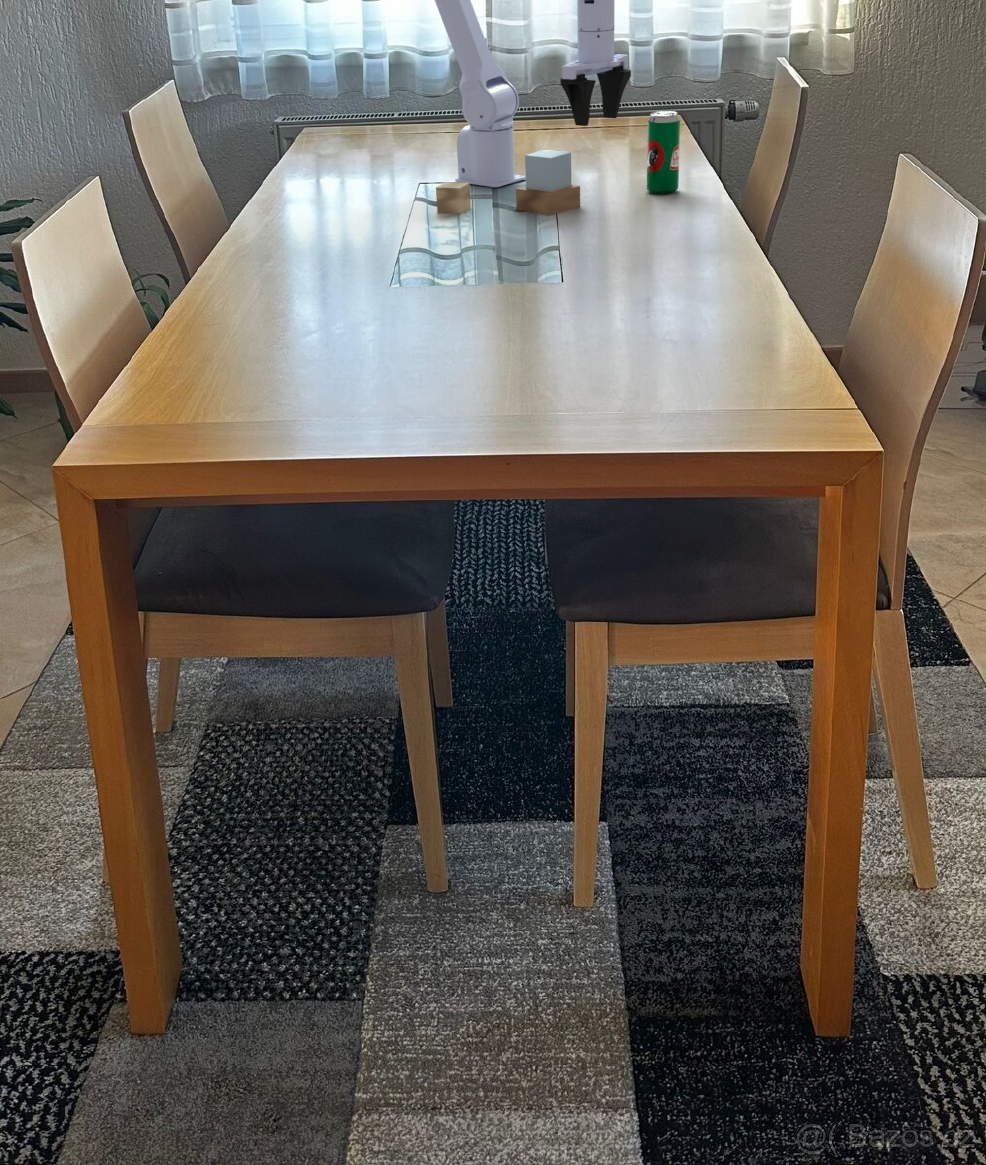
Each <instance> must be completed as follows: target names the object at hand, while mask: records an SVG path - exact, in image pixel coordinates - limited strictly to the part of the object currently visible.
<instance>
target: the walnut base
mask: <svg viewBox="0 0 986 1165" xmlns="http://www.w3.org/2000/svg"><path fill="white" fill-rule="evenodd" d="M515 197H516V198H515V199H516V200H515V201H516V202H515V205H516V210H517V209H518V211H522V210H523V212H528V213H534V214H539V215H543V216H548V217H549V216H553V215H556V214H560V212H561V213H564V212H567V210H568V211H571V209H572V210H574V208H575V209H578V207H579V208H581V185H577V184H572V186H569V187H566V188H563V189H560V190H557V191H554V192H547V191H540V190H532V189H526V185H525V186H519V187H516V188H515ZM563 211H564V212H563Z"/></svg>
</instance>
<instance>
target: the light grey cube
mask: <svg viewBox="0 0 986 1165" xmlns="http://www.w3.org/2000/svg"><path fill="white" fill-rule="evenodd" d="M524 163H525V164H524V166H525V167H524V168H525V176H526V179H525V186H526V189H532V190H540V191H547V192H554V191H557V190H560V189H563V188H566V187H569V186H572V185H573V184H572V183H573V182H572V152H571V151H563V150H553V149H543V150H538V151H535V152H532V153H527V154H524Z"/></svg>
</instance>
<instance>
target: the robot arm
mask: <svg viewBox="0 0 986 1165" xmlns="http://www.w3.org/2000/svg"><path fill="white" fill-rule="evenodd" d="M434 2H435V5H436V8H437V11H438V12H439V15H440V18H441V21H442V23H443V26H444V28H445V31H446V34H447V37H448V39H449V42H450V44H451V47H452V50H453V52H454V55H455V58H456V60H457V63H458V65H459V68H460V71H461V78H460V81H459V87H458V89H459V92H460V96H461V101H462V102H461V103H462V104H461V108H462V109H461V111H462V114H463V117H464V119H465V121H466V122H467V123H468V125H465V126H464V127H463V128H461V130H460V131H459V133H458V135H457V139H456V155H457V156H456V157H457V158H456V159H457V172H458V176H457V178H455V182H461V183H470V185H475V186H481V187H482V186H484V187H490V188H499V187H503V186H506V185H509V184H510V185H511V184H514V183H517V182H520V181H524V180H526V175H519V174H516V170H515V169H516V168H515V165H516V164H515V139H514V120H513V117H514V116H515V114H516V113H517V111H518V109H519V105H520V96H519V94H518V91H517V89H516V88H515V86H514V85H513V84H512V83H511V82H510V81H509V80H508V78H507V76H506V74H505V71H504V70H503V69H502V67H501V66H499V64H497V63H496V62H495V60H493V57H492V54H491V52H490V48H489V46H488V44H487V41H486V39H485V36H484V32H483V30H482V28H481V25H480V22H479V19H478V17H477V15H476V14H477V13H476V12H475V9H474V6H473V3H472V0H434ZM576 4H577V7H576V8H577V9H576V10H577V15H576V16H577V59H576V60H574V61H573V62H570V63H567V64H565V65H562V77H560V79H559V80H560V81H559V82H560V83H559V84H560V86H561V88H562V89H563V91H564V92H565V94H566V97H567V100H568V101H569V106H570V109H571V112H572V117H573V120H574V123H575V124H574V125H575V126H582V127H587V126H589V121H590V115H591V114H590V113H591V101H592V95H593V90H594V87H595V84H596V82H597V81H596V80H595V79H594V80H593V79H588V78H587V77H586V76H589V75H595V74H596V77H597V79H598V83H599V86H600V91H601V98H602V99H601V100H602V102H601V103H602V112H603V118H606V119H617V118H618V114H619V109H620V106H621V100H622V96H623V93H624V90H625V88H626V86H627V84H628V83H629V80H630V79H631V77H632V70H631V69H628V68H629V54H624V53H623V54H622V53H618V54H615V0H577V3H576ZM626 68H627V69H626Z"/></svg>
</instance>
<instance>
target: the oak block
mask: <svg viewBox="0 0 986 1165" xmlns="http://www.w3.org/2000/svg"><path fill="white" fill-rule="evenodd" d="M470 186H471V184H470V183H461V182H456V181H455V182H454V181H445V182H442V183H441V184H439V185H438V186H436V187H435V197H436V211H437V214H445V215H446V214H448V215H462V214H464V213H465V212H467V211H469V210H471V208H472V207H471V206H472V205H471V190H470V189H471V187H470Z"/></svg>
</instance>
